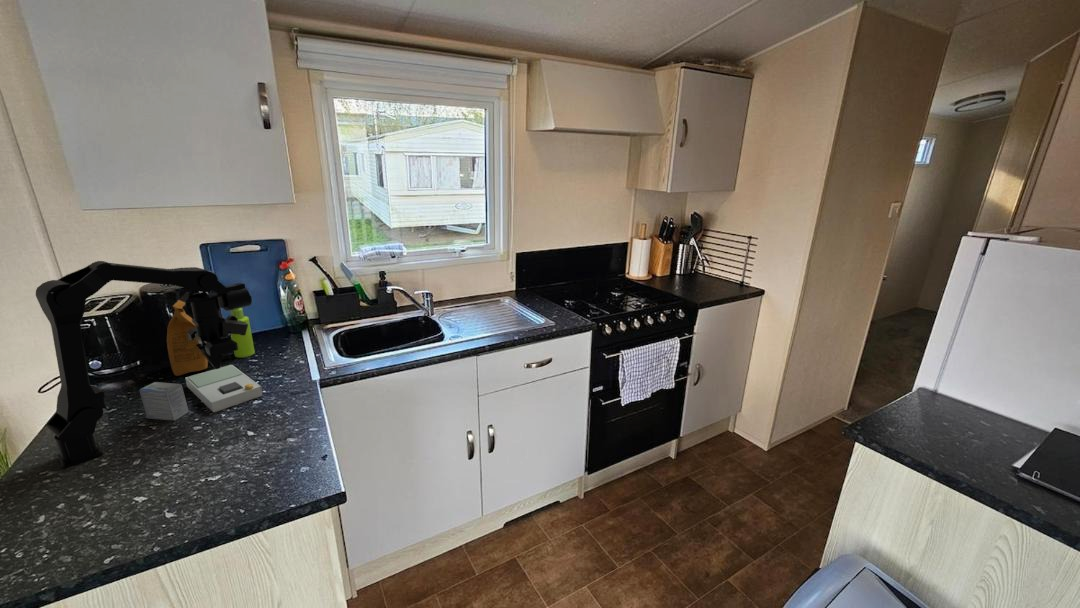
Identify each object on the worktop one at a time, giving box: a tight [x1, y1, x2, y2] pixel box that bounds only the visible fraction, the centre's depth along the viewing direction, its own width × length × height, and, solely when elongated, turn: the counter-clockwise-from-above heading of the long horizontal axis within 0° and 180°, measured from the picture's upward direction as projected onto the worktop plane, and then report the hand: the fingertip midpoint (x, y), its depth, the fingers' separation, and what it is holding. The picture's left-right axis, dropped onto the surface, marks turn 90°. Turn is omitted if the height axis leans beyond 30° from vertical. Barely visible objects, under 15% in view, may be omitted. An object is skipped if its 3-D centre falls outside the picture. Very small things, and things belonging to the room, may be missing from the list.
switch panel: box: [185, 364, 263, 413], centre depth 127 cm, size 22×12×4 cm, turn 52°
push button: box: [219, 382, 241, 395], centre depth 123 cm, size 4×4×3 cm
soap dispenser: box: [230, 307, 256, 358], centre depth 149 cm, size 6×7×20 cm
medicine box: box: [139, 381, 190, 421], centre depth 113 cm, size 8×4×9 cm, turn 84°
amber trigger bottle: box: [166, 299, 209, 377], centre depth 138 cm, size 10×12×22 cm
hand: (217, 368), depth 119 cm, fingers closed
